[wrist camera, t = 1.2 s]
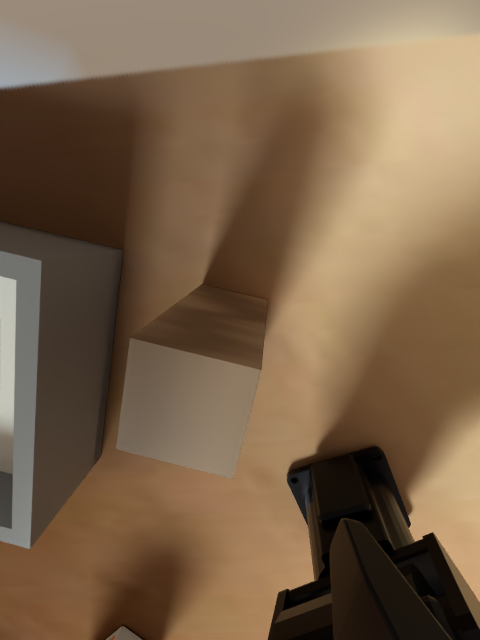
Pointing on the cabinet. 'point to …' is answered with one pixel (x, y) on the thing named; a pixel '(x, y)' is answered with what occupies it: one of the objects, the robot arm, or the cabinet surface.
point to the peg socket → (51, 371)
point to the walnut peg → (194, 381)
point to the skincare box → (123, 635)
